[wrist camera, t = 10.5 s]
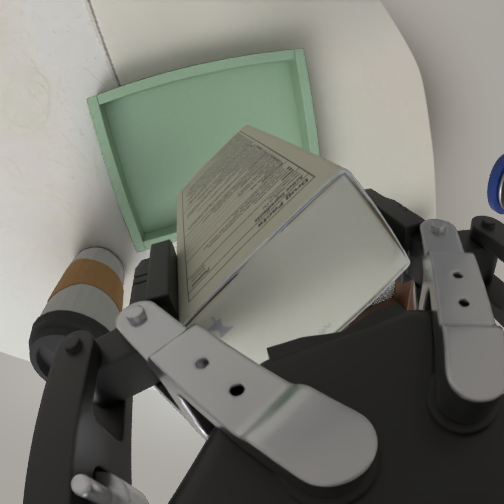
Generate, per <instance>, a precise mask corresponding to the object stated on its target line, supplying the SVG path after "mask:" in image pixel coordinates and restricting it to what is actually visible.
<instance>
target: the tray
mask: <svg viewBox="0 0 504 504" xmlns="http://www.w3.org/2000/svg"><path fill="white" fill-rule="evenodd" d="M87 103H88V107H89V110H90V114H91V118H92V122H93V125H94V129H95V132H96V136H97V139H98V142H99V146H100V149H101V152H102V156H103V159H104V162H105V165H106V168H107V171H108V174H109V177H110V180H111V183H112V186H113V189H114V192H115V195H116V198H117V201H118V204H119V206H120V209H121V212H122V215H123V217H124V220H125V223H126V225H127V228H128V231H129V233H130V236H131V238H132V241H133V244H134V246H135V249H136V251H137V252H141V251H144V250H148V249H151V245H152V244H155V243H158V242H162V241H165V240H169V239H170V240H171V242H176V241H177V196H178V194H179V193H180V191H181V190H182V189H183V188H184V187H185V186H186V185H187V183H188V182H189V181H190V180H191V179H192V178H193V177H194V176H195V175H196V174H197V172H198V171H199V170H200V169H201V168H202V167H203V166H204V165H205V164H206V163H207V162H208V161H209V160H210V159H211V158H212V157H213V156H214V155H215V154H216V153H217V152H218V151H219V150H220V149H221V148H222V147H223V146H224V145H225V144H226V143H227V142H228V141H229V140H230V139H231V138H232V137H233V136H234V135H235V134H236V133H237V132H238V131H240V130H241V129H242V128H243V127H244V126H245V125H250V126H252V127H255V128H257V129H259V130H262V131H264V132H267V133H269V134H271V135H274V136H276V137H278V138H280V139H283V140H285V141H287V142H290V143H292V144H294V145H296V146H298V147H301V148H303V149H305V150H307V151H309V152H311V153H313V154H316V155H318V156H320V153H319V145H318V137H317V130H316V122H315V115H314V108H313V102H312V95H311V89H310V83H309V77H308V71H307V65H306V59H305V54H304V49H303V48H302V49H291V50H281V51H273V52H265V53H258V54H251V55H245V56H239V57H233V58H227V59H222V60H217V61H212V62H207V63H203V64H198V65H194V66H190V67H185V68H181V69H177V70H173V71H170V72H166V73H162V74H159V75H155V76H152V77H148V78H145V79H142V80H139V81H135V82H132V83H129V84H126V85H123V86H120V87H117V88H114V89H112V90H109V91H106V92H103V93H101V94H98V95H95V96H93V97H90V98H88V99H87Z"/></svg>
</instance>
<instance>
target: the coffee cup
mask: <svg viewBox="0 0 504 504" xmlns="http://www.w3.org/2000/svg"><path fill="white" fill-rule="evenodd" d="M123 284H124V269H123V267H122V264H121V262H120V261H119V260H118V258H117V257H116V256H115V255H114V254H113V253H111V252H110V251H108V250H106V249H103V248H88V249H85V250H83V251H81V252H80V253H79V254H78V255H77V256H76V257H75V258H74V260H73V261H72V263H71V264H70V266H69V267H68V268H67V270H66V271H65V273H64V274H63V276H62V278H61V279H60V281H59V282H58V284H57V286H56V287H55V289H54V291H53V292H52V294H51V296H50V298H49V299H48V302H47V305H46V306H45V308H44V310H43V312H42V314H41V315H40V317H38V318H37V320H36V321H35V322H34V324H33V327H32V331H31V335H30V339H29V349H30V353H29V354H30V361H31V363H32V365H33V367H34V369H35V370H36V372H37V373H38V374H39V375H40V376H41V377H42V378H43V379H44V380H45V381H47V377H48V374H49V371H50V367H51V364H52V361H53V357H54V354H55V351H56V348H57V346H58V344H59V343H60V342H61V341H62V339H63V338H65V337H66V336H67V335H69V334H70V333H72V332H75V331H78V330H87V331H89V332H90V333H91V334H92V335H93V337H94V338H95V339H96V338H98V337H100V336H102V335H104V334H106V333H108V332H110V331H112V330H114V329H115V328H117V327H116V319H117V316H118V315H119V313H120V312H121V311H122V306H123V293H124V291H123Z"/></svg>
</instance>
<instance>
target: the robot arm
mask: <svg viewBox="0 0 504 504" xmlns="http://www.w3.org/2000/svg"><path fill="white" fill-rule="evenodd" d="M365 192H366V193H367V194H368V196H369V197H370V198H371V200H372V201H373V202H374V204H375V205H376V207H377V208H378V210H379V211H380V213H381V214H382V216H383V217H384V219H385V220H386V222H387V223H388V225H389V226H390V228H391V229H392V231H393V233H394V234H395V236H396V237H397V239H398V241H399V242H400V244H401V246H402V248H403V249H404V251H405V252H406V254H407V256H408V257H409V259H410V265H409V266H408V267H407V269H406V270H404V272H403V273H402V274H401V275H400V276H399V277H398V278H397V281H398V282H399V283H400V284H403V283H406V282H408V281H411V280H414V286H413V301H414V310H407V311H406V310H405V309H404V308H403V307H402V306H401V304H400V303H399V302H398V303H395V304H393V305H390V306H388V307H385V308H383V309H380V310H378V311H375V312H372V313H370V314H368V315H367V316H365V317H364V318H362V319H361V320H359V321H358V322H356V323H354V324H353V325H351V326H350V327H348V328H347V329H345V330H343V331H341V332H336V333H329V334H322V335H314V336H306V337H301V338H297V339H294V340H291V341H288V342H285V343H281V344H278V345H275V346H271V347H268V348H267V353H268V357H269V359H268V360H266V361H264V362H262V363H261V364H258V363H256V362H255V361H253V360H252V359H250V358H248V357H247V356H245V355H244V354H242V353H241V352H239V351H238V350H236V349H234V348H233V347H231V346H230V345H228V344H227V343H225V342H224V341H222V340H221V339H219V338H218V337H216V336H215V335H213V334H212V333H210V332H209V331H207V330H206V329H205V328H203V327H202V326H200V325H198V324H193V325H191V326H190V327H189V328H187V327H185V326H184V325H183V324H181V323H180V322H179V314H178V279H177V255H176V253H175V250H174V247H173V244H172V242H171V240H170V239H169V240H165V241H162V242H158V243H155V244H152V245H151V251H150V258H148V259H144V260H142V261H141V262H140V263H139V265H138V266H137V267H136V269H135V274H134V280H133V286H132V292H131V298H130V304H129V306H127V307H126V308H124V309H123V310H122V311H121V312H120V313H119V315H118V316H117V319H116V327H117V328H115V329H114V330H112V331H110V332H108V333H106V334H104V335H102V336H100V337H98V338H96V339H95V338H94V337H93V335H92V334H91V333H90V332H89V331H87V330H78V331H75V332H72V333H70V334H69V335H67V336H66V337H65V338H63V339H62V341H61V342H60V343H59V344H58V346H57V348H56V351H55V354H54V357H53V361H52V364H51V367H50V371H49V374H48V377H47V381H46V385H45V389H44V392H43V396H42V400H41V404H40V408H39V412H38V416H37V420H36V425H35V430H34V434H33V439H32V445H31V450H30V456H29V462H28V468H27V475H26V482H25V490H24V499H23V504H149V503H148V500H147V499H146V497H145V496H144V494H143V493H142V492H140V491H139V490H137V489H136V488H134V487H133V486H132V479H131V429H132V402H133V395H135V394H137V393H139V392H141V391H143V390H145V389H147V388H149V387H151V386H154V387H155V388H156V389H157V390H158V391H159V392H160V393H161V394H162V395H163V396H164V397H165V398H166V400H167V401H169V403H170V404H172V406H173V407H174V408H175V409H176V410H177V411H179V413H180V414H181V415H183V417H184V418H185V419H186V420H187V421H188V422H189V423H190V424H191V425H192V427H193V428H194V429H195V430H196V431H197V432H198V433H199V434H200V435H201V436H202V437H203V438H204V439H205V440H206V442H205V444H204V446H203V447H202V449H201V451H200V452H199V454H198V456H197V458H196V459H195V461H194V463H193V464H192V466H191V467H190V469H189V471H188V472H187V474H186V476H185V477H184V479H183V480H182V482H181V484H180V485H179V487H178V489H177V490H176V492H175V493H174V495H173V497H172V498H171V500H170V501H169V503H168V504H504V331H503V329H502V328H501V327H500V326H497V325H496V324H495V321H494V318H495V319H496V320H497V321H498V322H499V323H500V324H501V325H502V326H503V327H504V282H503V281H501V280H500V279H499V278H498V277H497V276H495V275H494V271H495V267H496V263H497V259H498V258H499V259H500V260H501V261H503V262H504V224H503V223H501V222H500V221H498V220H496V219H494V218H492V217H487V216H476V217H474V218H473V219H472V221H471V229H470V230H462V231H457V229H456V228H455V226H454V225H452V224H451V223H449V222H447V221H444V220H439V219H429V220H426V221H425V220H424V219H422V218H421V217H419V216H418V215H416V214H415V213H413V212H412V211H410V210H408V209H407V208H406V207H404V206H402V205H401V204H400V203H398V202H396V201H395V200H392V199H389V198H386V197H384V196H382V195H380V194H379V193H377V192H376V191H374V190H372V189H370V188H369V189H365ZM497 201H498V204H499V206H500V207H501V208H503V209H504V170H503V172H502V174H501V176H500V179H499V182H498V187H497Z"/></svg>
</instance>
